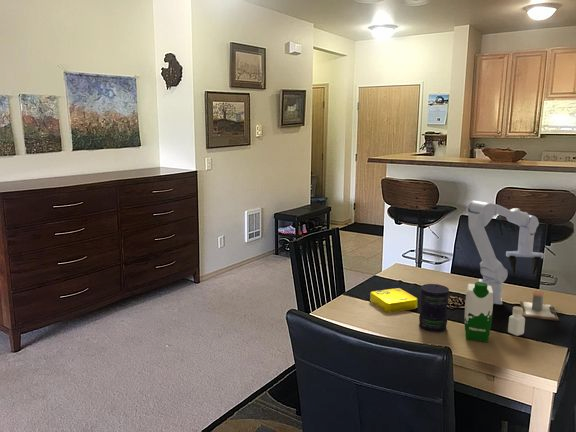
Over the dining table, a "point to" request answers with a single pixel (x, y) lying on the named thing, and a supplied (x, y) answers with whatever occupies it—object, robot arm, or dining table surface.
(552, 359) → the dining table surface
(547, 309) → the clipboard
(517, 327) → the salt shaker
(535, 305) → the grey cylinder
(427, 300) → the storage jar
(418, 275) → the dining table surface
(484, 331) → the milk carton
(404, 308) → the element tile
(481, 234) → the robot arm
